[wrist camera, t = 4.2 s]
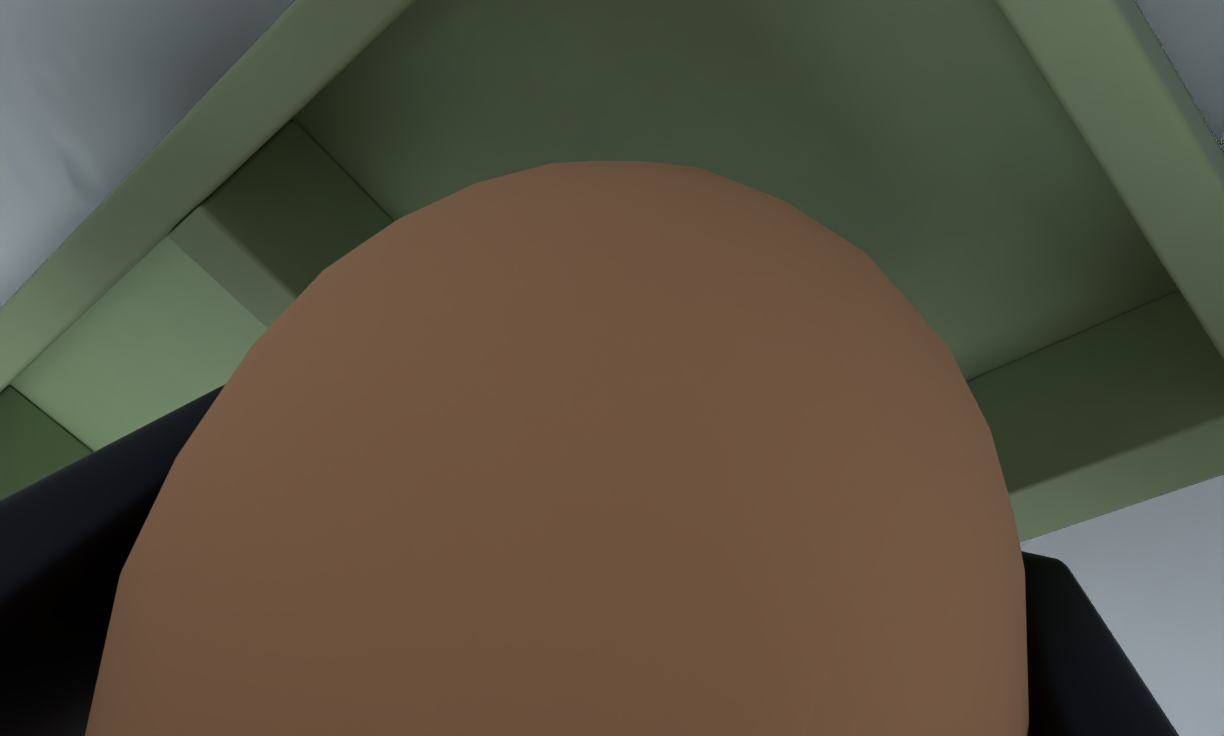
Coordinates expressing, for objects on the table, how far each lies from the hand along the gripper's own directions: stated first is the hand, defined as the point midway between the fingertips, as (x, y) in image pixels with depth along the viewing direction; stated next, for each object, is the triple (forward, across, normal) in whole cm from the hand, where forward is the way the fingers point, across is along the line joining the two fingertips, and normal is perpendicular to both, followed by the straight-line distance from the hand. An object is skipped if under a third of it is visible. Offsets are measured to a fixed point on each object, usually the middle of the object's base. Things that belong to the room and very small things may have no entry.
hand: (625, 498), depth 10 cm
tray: (+6, +3, +3) cm, 8 cm away
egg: (+3, 0, 0) cm, 3 cm away
